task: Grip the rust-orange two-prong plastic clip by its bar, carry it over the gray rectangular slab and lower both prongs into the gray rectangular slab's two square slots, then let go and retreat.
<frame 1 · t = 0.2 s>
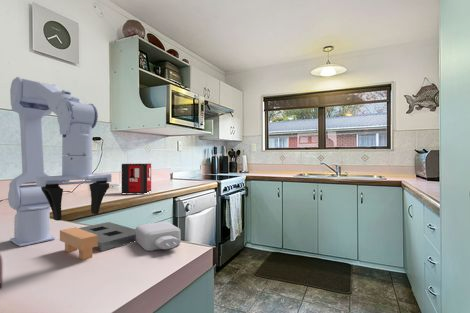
hand: (77, 216, 57), 10 cm above the worktop, fingers open, 7 cm apart
clip: (78, 253, 61), on the worktop
charger: (161, 248, 66), on the worktop
gray rectangular slab: (105, 238, 73), on the worktop
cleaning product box: (136, 193, 173), on the worktop
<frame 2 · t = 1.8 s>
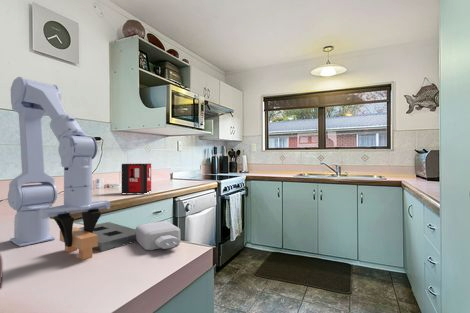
hand: (78, 243, 61), 2 cm above the worktop, fingers closed on clip, 3 cm apart
clip: (78, 253, 61), on the worktop, touching gripper
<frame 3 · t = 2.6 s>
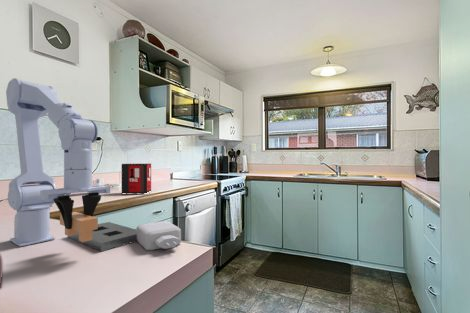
hand: (77, 226, 61), 6 cm above the worktop, fingers closed on clip, 3 cm apart
clip: (78, 237, 61), point 4 cm above the worktop, touching gripper
everything else where it was.
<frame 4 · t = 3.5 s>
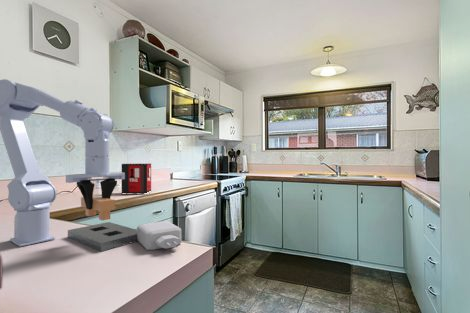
hand: (97, 207, 69), 9 cm above the worktop, fingers closed on clip, 3 cm apart
clip: (97, 217, 69), point 7 cm above the worktop, touching gripper
everything else where it was.
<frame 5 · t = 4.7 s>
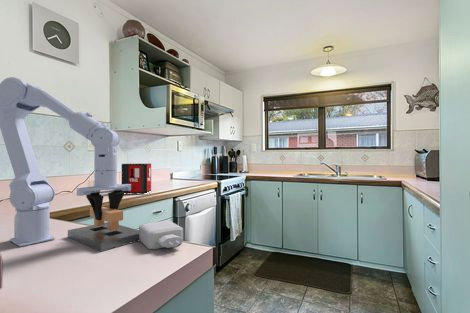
hand: (105, 218, 73), 6 cm above the worktop, fingers closed on clip, 3 cm apart
clip: (106, 227, 73), point 3 cm above the worktop, touching gripper
when the fingers open (3 cm above the worktop, at t = 5.6 s): clip stays where it is, resting in gray rectangular slab.
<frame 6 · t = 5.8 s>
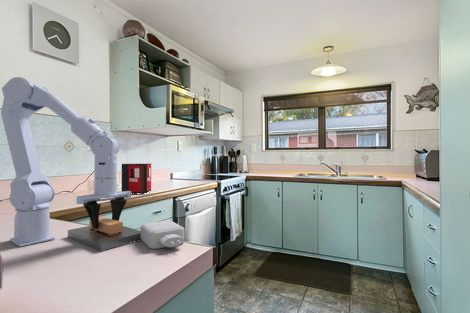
hand: (105, 226, 73), 3 cm above the worktop, fingers open, 5 cm apart
clip: (106, 238, 73), resting in gray rectangular slab
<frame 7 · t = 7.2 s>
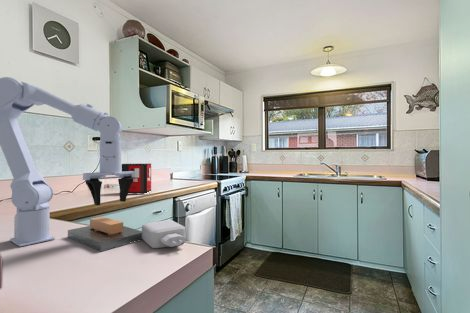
hand: (110, 203, 76), 9 cm above the worktop, fingers open, 7 cm apart
charger: (167, 245, 68), on the worktop, touching gray rectangular slab
everything else where it was.
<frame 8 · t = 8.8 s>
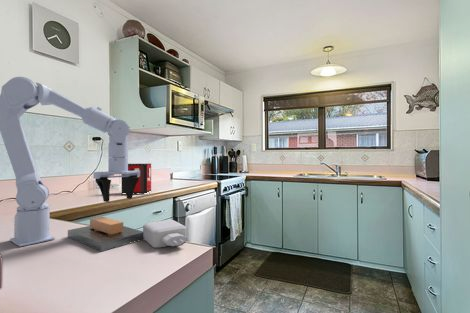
hand: (118, 200, 82), 9 cm above the worktop, fingers open, 7 cm apart
charger: (168, 245, 68), on the worktop
everything else where it was.
at the end: clip 0.1 cm off-centre on the gray rectangular slab, point 0.0 cm above the gray rectangular slab's base; clip tilted 0°; the gripper is holding nothing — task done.
